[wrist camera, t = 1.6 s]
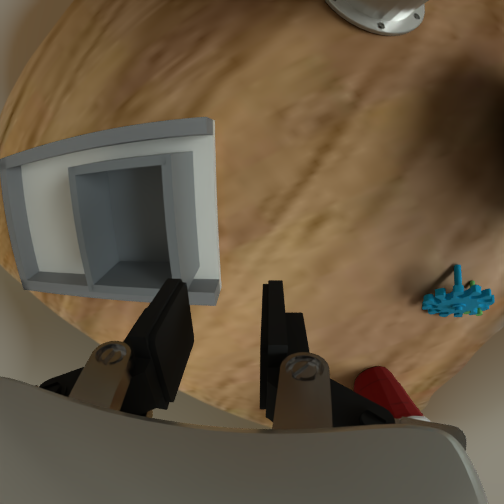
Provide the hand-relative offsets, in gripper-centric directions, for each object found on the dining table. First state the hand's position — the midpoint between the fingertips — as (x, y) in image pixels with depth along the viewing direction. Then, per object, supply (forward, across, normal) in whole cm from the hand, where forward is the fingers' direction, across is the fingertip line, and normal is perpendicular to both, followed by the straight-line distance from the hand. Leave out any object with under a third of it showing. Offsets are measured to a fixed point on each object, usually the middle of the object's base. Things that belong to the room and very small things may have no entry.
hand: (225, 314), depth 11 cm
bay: (+19, +18, 0) cm, 26 cm away
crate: (+18, +11, 0) cm, 21 cm away
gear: (+20, -26, +10) cm, 34 cm away
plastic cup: (+19, -18, +25) cm, 36 cm away
